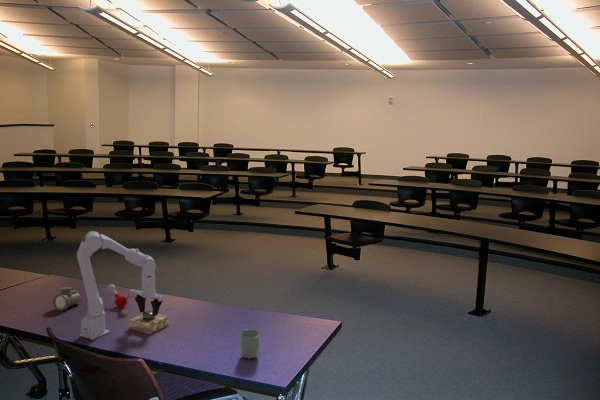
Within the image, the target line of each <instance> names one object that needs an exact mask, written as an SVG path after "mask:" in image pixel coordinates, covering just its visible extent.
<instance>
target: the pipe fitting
mask: <svg viewBox="0 0 600 400" xmlns="http://www.w3.org/2000/svg"><path fill="white" fill-rule="evenodd" d="M60 292H61V293H57V294H55V295H54V296H53V301H52V303H53V306H54V308H55V310H57V311H59V312H64V311H66V310H67V309H68V308H70V307H71V306H76V305H78V304H80V303H81V301H82V296H81V294H80V293H79V292H78V291H77V290H75V289H73V288H72V287H71V286H65V287H61V288H60Z"/></svg>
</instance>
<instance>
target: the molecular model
mask: <svg viewBox="0 0 600 400" xmlns="http://www.w3.org/2000/svg"><path fill="white" fill-rule="evenodd" d="M107 291H108V292H110V293H112V294H113V296H114V297H115V301H114V302H115V305H116V307H118V308H123V307H125V306H126V305H127V303H128V299H130V298H135V297H136V296H135V291H136V290H135V289H129V290H128V294H125V295H119V293H118V291H117V290H116V286H115V285H114V284H109V285H108V286H107Z"/></svg>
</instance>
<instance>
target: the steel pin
mask: <svg viewBox="0 0 600 400" xmlns="http://www.w3.org/2000/svg"><path fill="white" fill-rule="evenodd" d="M142 314H143V320H146V321H150V320H153V319H155V316H153V310H145V311H144V312H142Z"/></svg>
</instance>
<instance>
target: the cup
mask: <svg viewBox="0 0 600 400" xmlns="http://www.w3.org/2000/svg"><path fill="white" fill-rule="evenodd" d="M260 336H261V334H260V331H259V330H257V329H252V328H251V329H250V328H247V329H244V330H241V331H240V332H239V350H240V354H241V356H242V357H243V358H244V359H246V358H248V359H247V360H252V359H251V358H253V359H255V358H257V356H258V355H259V353H260V352H259V351H260V343H261V341H260V339H261V337H260Z"/></svg>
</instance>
